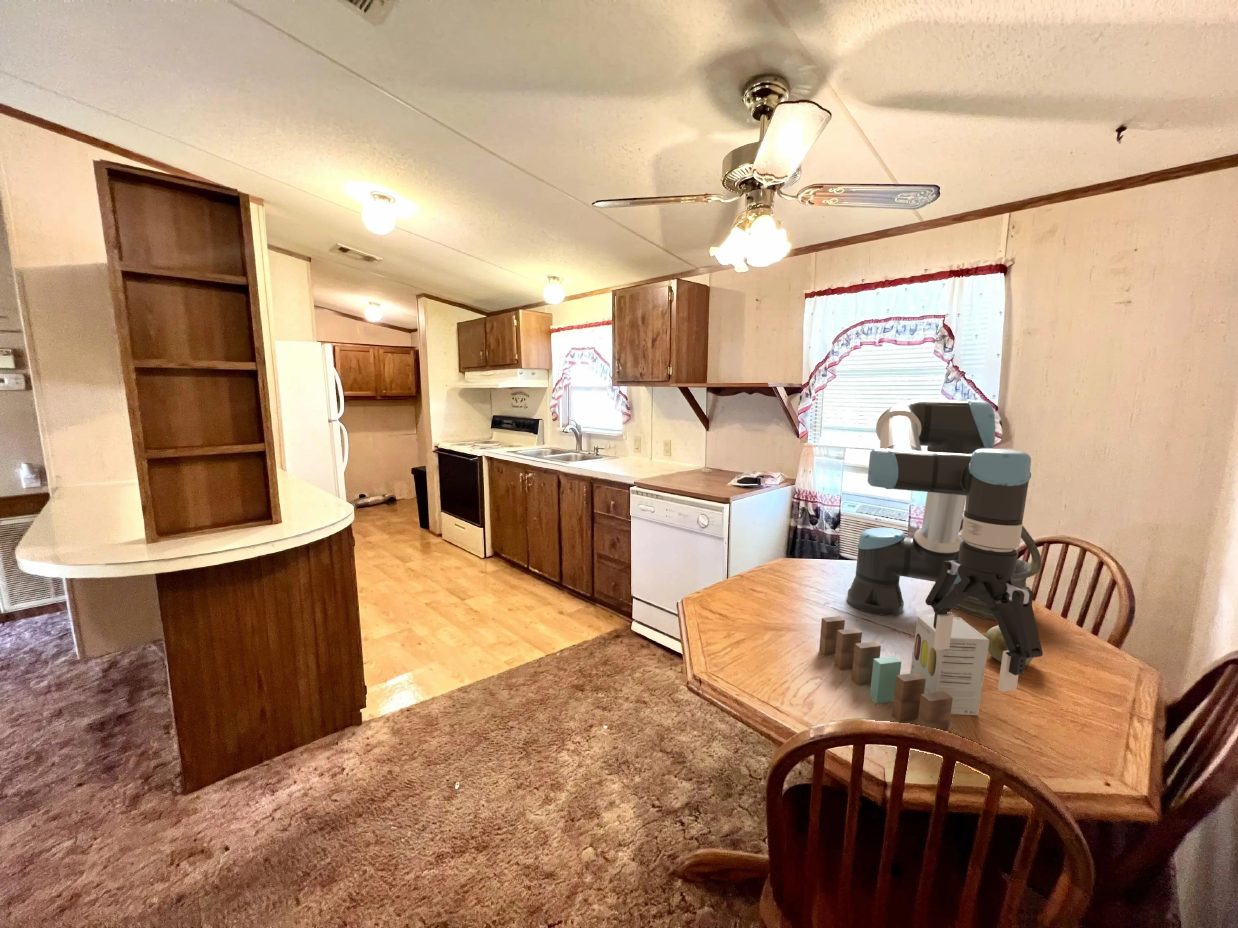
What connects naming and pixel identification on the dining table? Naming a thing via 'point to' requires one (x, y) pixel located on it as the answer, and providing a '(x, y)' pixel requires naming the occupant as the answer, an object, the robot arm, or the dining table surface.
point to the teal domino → (884, 678)
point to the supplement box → (952, 663)
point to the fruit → (998, 644)
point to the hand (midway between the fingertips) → (971, 667)
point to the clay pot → (1018, 579)
